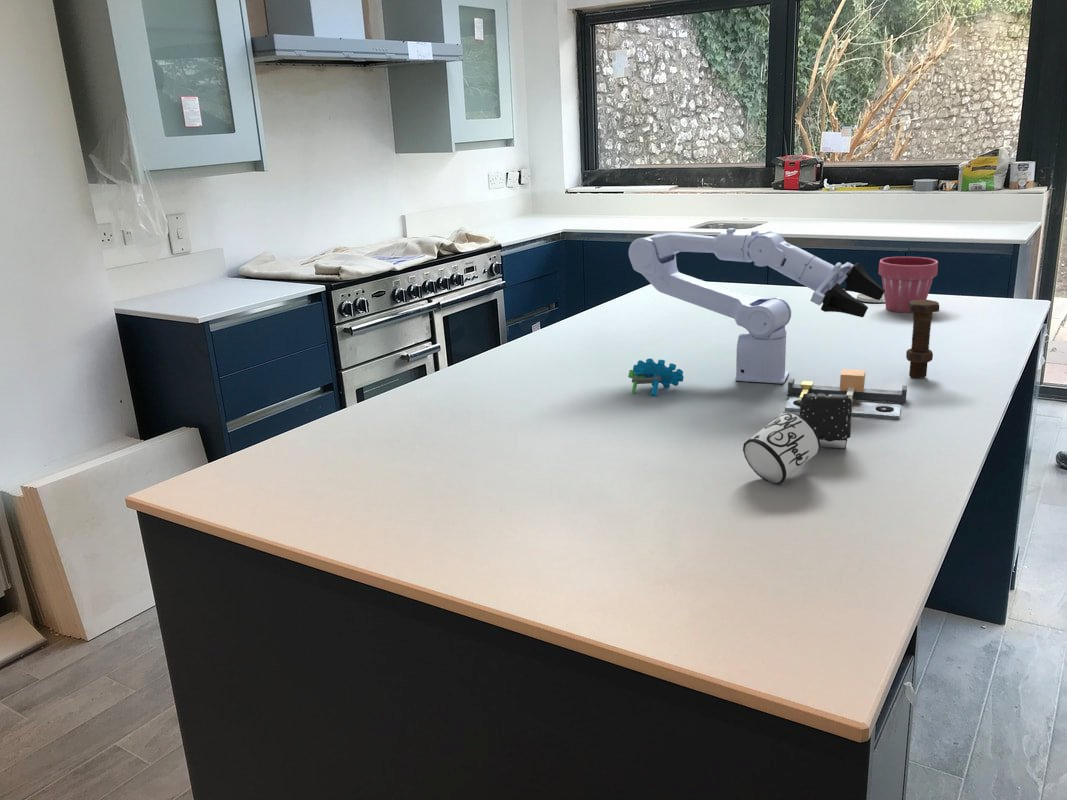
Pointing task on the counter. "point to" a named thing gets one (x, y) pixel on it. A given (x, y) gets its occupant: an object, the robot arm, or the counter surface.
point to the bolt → (921, 337)
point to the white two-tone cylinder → (799, 436)
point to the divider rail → (863, 396)
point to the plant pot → (906, 280)
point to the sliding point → (852, 381)
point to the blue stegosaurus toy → (655, 374)
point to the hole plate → (859, 409)
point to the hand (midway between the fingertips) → (874, 303)
